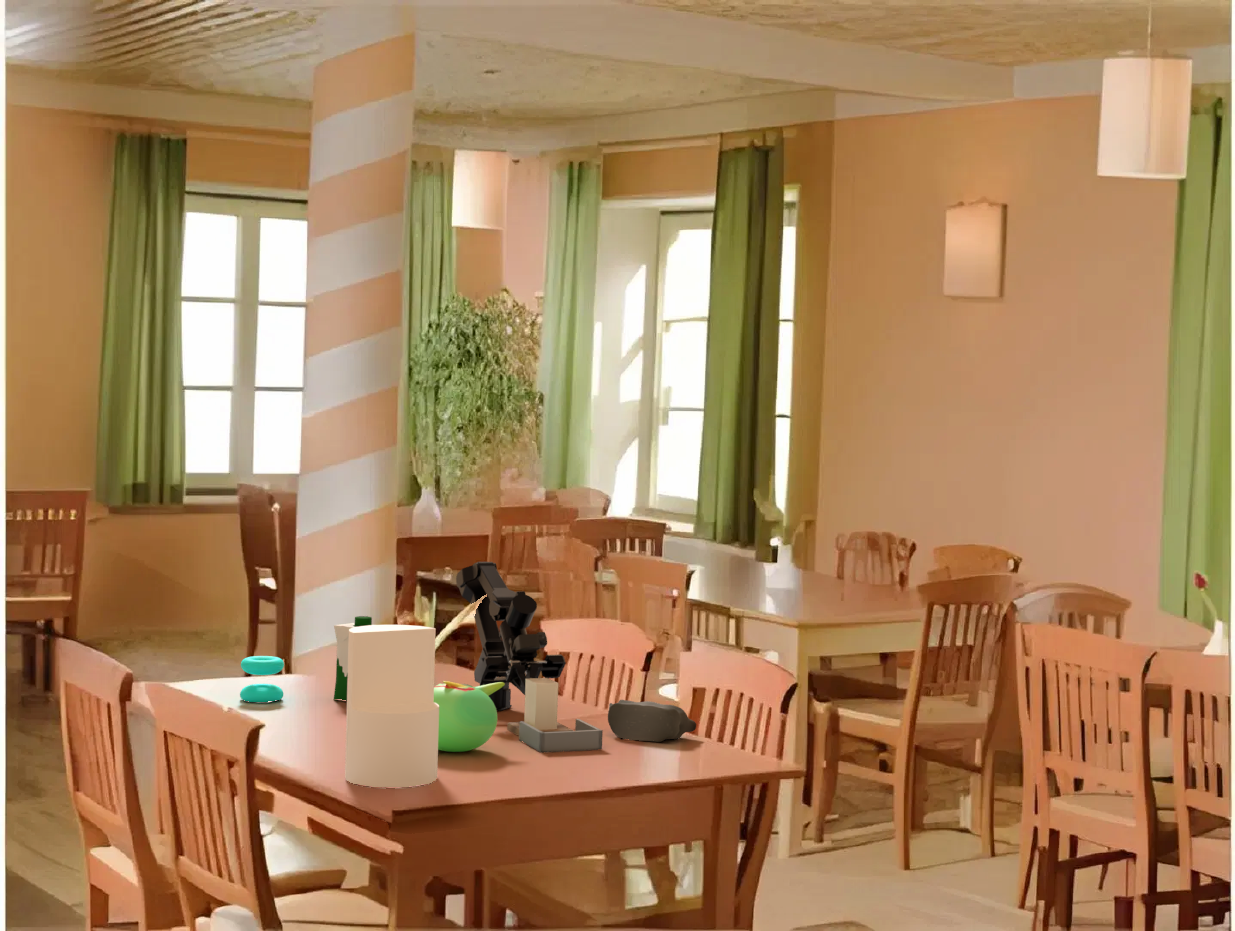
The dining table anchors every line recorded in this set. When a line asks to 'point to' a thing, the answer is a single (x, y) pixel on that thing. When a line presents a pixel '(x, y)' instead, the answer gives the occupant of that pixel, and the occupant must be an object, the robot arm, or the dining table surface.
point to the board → (514, 729)
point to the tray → (562, 738)
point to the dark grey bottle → (648, 721)
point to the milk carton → (345, 654)
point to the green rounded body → (465, 715)
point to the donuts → (262, 667)
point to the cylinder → (391, 706)
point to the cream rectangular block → (541, 703)
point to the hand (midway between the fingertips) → (530, 698)
